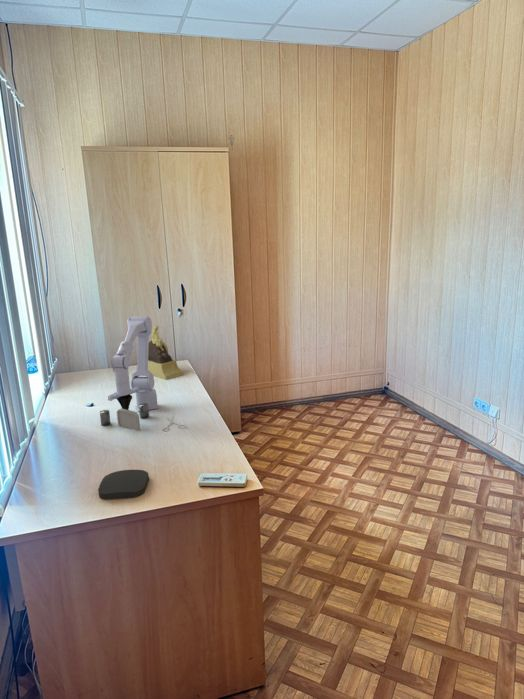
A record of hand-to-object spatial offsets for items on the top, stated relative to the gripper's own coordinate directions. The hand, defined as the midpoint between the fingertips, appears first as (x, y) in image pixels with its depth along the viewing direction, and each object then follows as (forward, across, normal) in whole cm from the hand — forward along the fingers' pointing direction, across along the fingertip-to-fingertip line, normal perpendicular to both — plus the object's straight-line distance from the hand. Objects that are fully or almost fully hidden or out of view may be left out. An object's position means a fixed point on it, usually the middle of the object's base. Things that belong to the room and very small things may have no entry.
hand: (125, 411), depth 206 cm
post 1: (+5, +6, -7) cm, 11 cm away
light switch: (+6, +2, +5) cm, 8 cm away
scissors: (+6, -12, +16) cm, 21 cm away
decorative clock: (+6, -59, -53) cm, 80 cm away
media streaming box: (+6, +33, +47) cm, 58 cm away
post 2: (+5, -9, 0) cm, 11 cm away
